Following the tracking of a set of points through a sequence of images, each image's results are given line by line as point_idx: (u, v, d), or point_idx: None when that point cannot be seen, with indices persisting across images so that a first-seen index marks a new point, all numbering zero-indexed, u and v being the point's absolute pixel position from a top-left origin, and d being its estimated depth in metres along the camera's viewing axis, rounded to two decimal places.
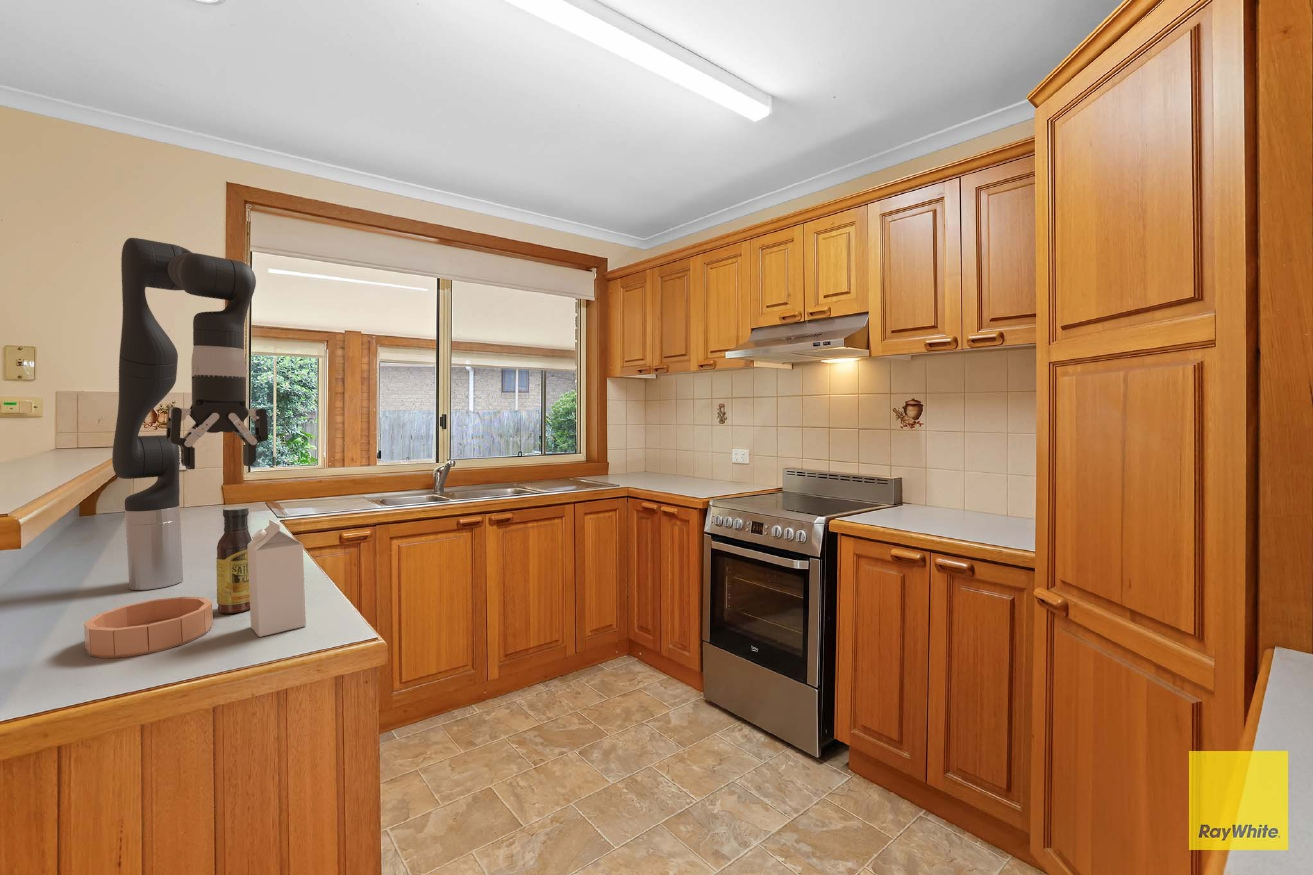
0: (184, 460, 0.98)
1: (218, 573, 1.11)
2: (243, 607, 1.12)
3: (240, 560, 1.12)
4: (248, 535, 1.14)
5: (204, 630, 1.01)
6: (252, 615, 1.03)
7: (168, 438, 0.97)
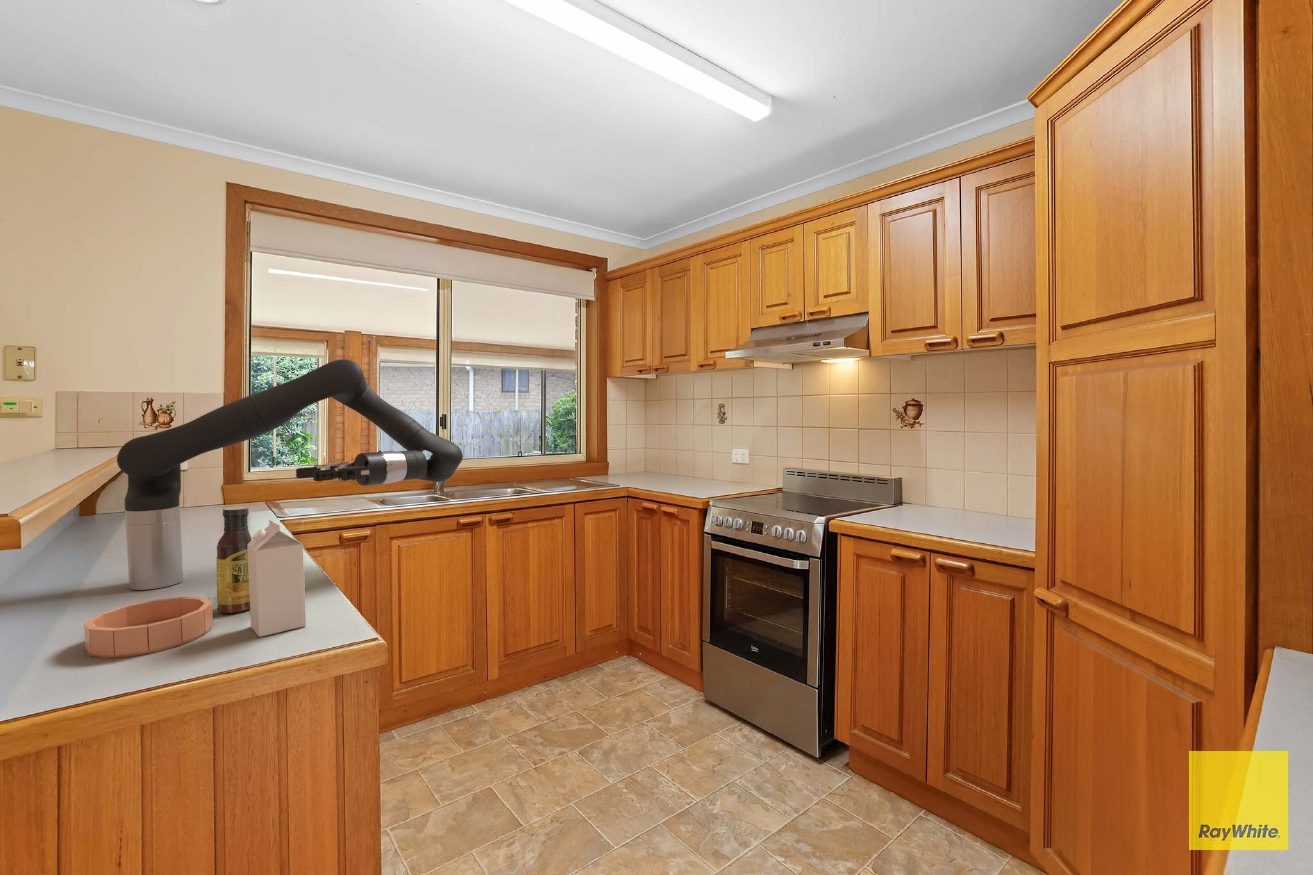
0: (324, 478, 1.21)
1: (218, 573, 1.11)
2: (243, 607, 1.12)
3: (240, 560, 1.12)
4: (248, 535, 1.14)
5: (204, 630, 1.01)
6: (252, 615, 1.03)
7: (346, 473, 1.23)
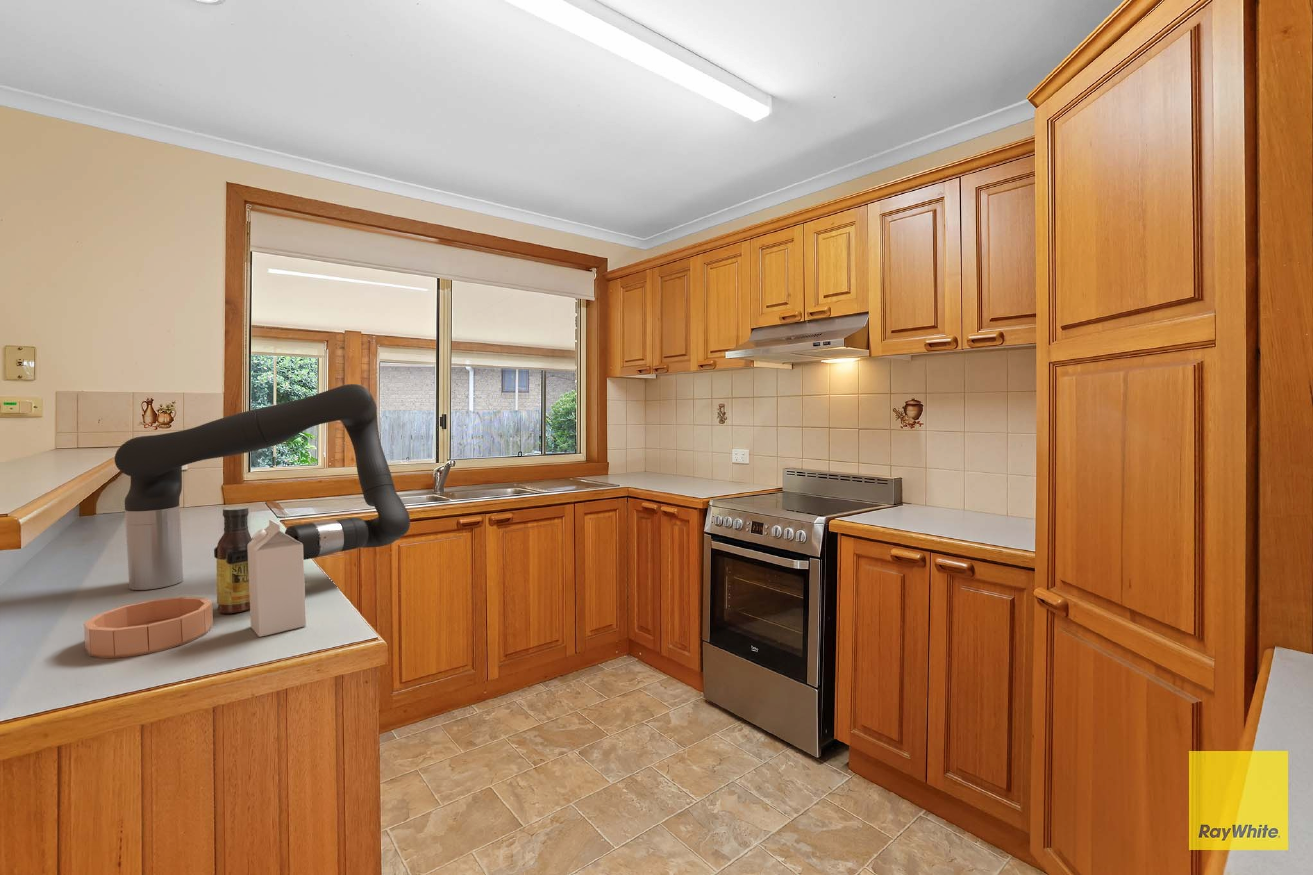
0: (238, 560, 1.10)
1: (218, 573, 1.11)
2: (243, 607, 1.12)
3: None
4: (248, 535, 1.14)
5: (204, 630, 1.01)
6: (252, 615, 1.03)
7: None
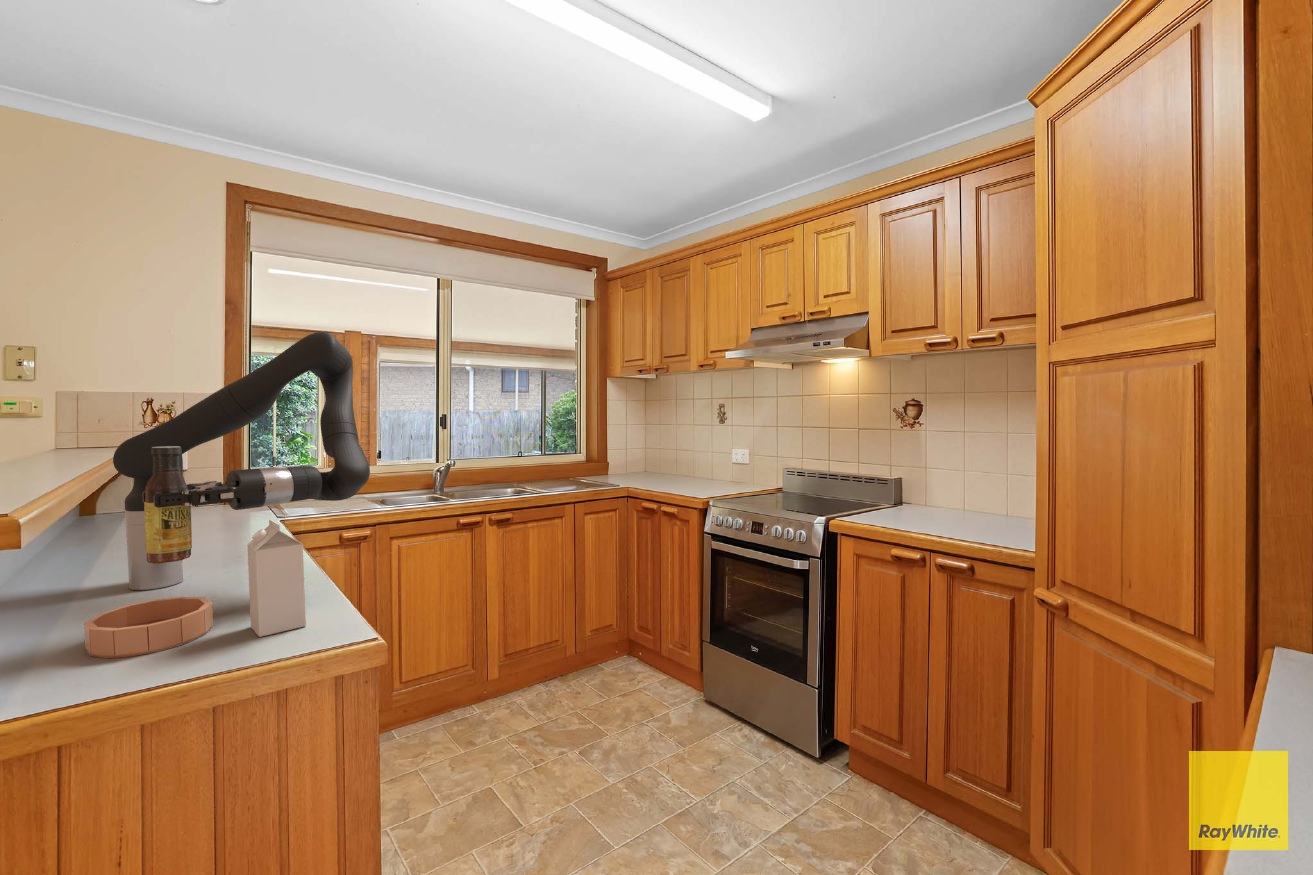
0: (167, 504, 0.99)
1: (146, 518, 0.99)
2: (175, 557, 1.01)
3: None
4: (181, 477, 1.02)
5: (204, 630, 1.01)
6: (252, 615, 1.03)
7: (197, 497, 1.00)
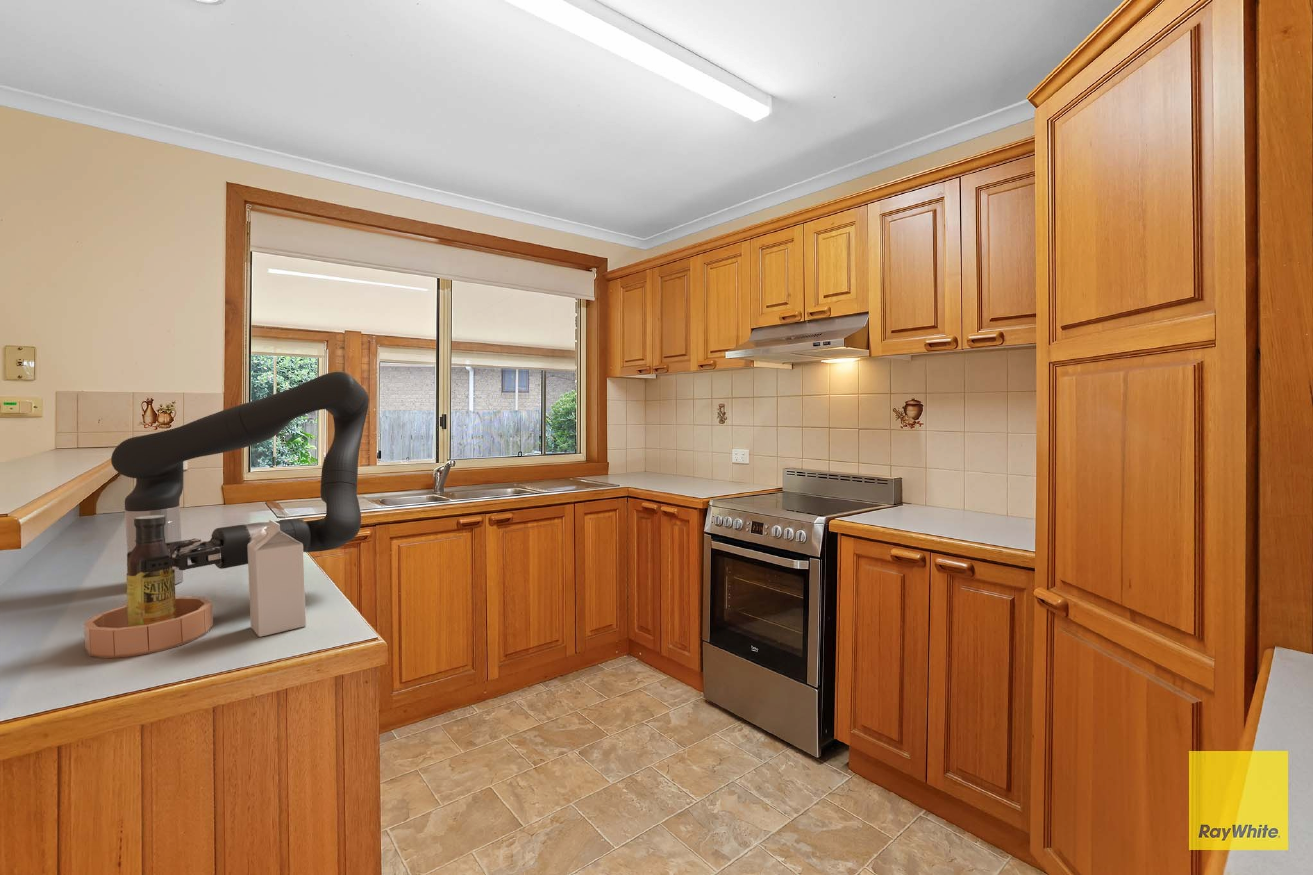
0: (154, 569, 0.96)
1: (128, 591, 0.97)
2: None
3: (153, 576, 0.98)
4: (164, 547, 1.00)
5: (204, 630, 1.01)
6: (252, 615, 1.03)
7: (185, 560, 0.98)
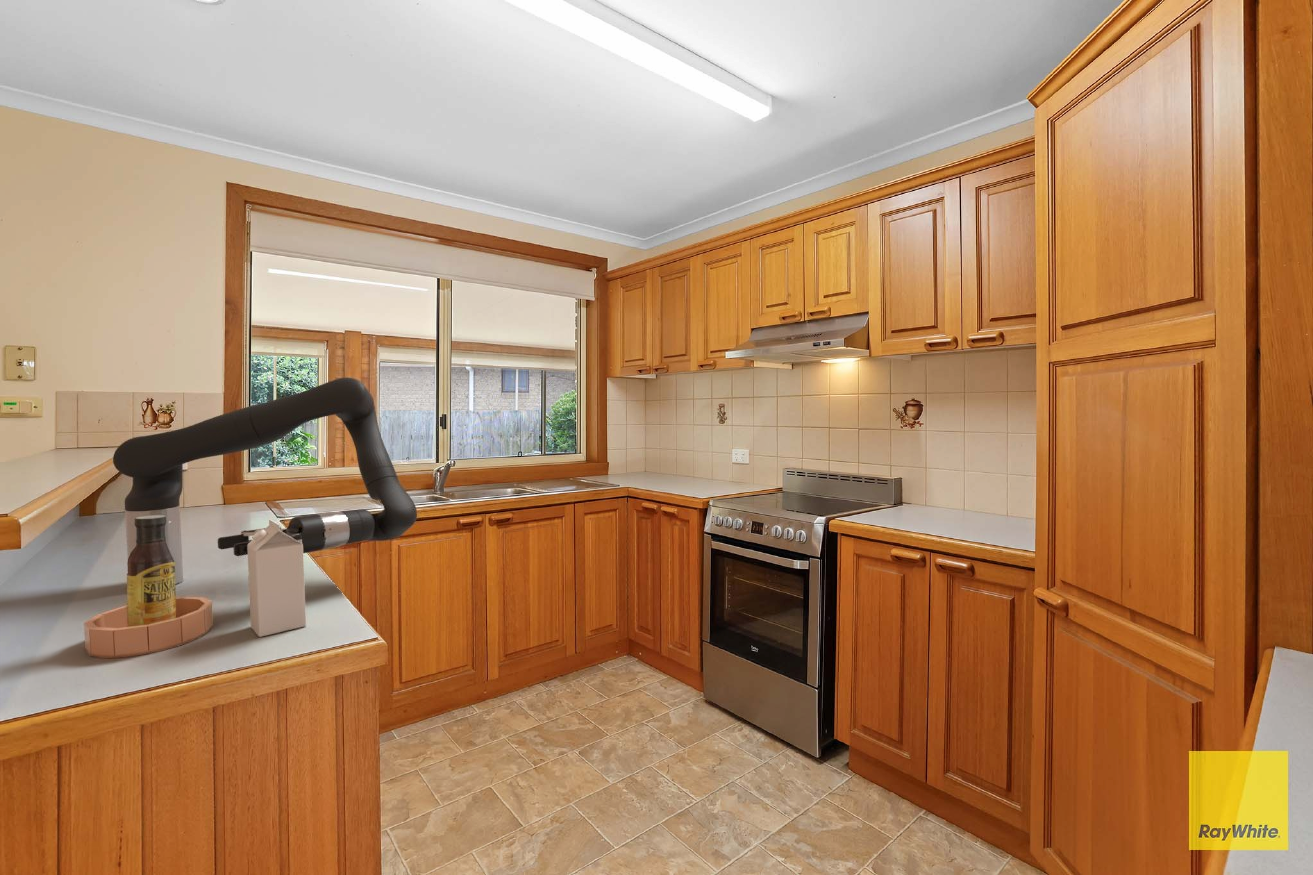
0: (246, 552, 1.06)
1: (128, 591, 0.97)
2: None
3: (153, 576, 0.98)
4: (165, 547, 1.00)
5: (204, 630, 1.01)
6: (252, 615, 1.03)
7: None
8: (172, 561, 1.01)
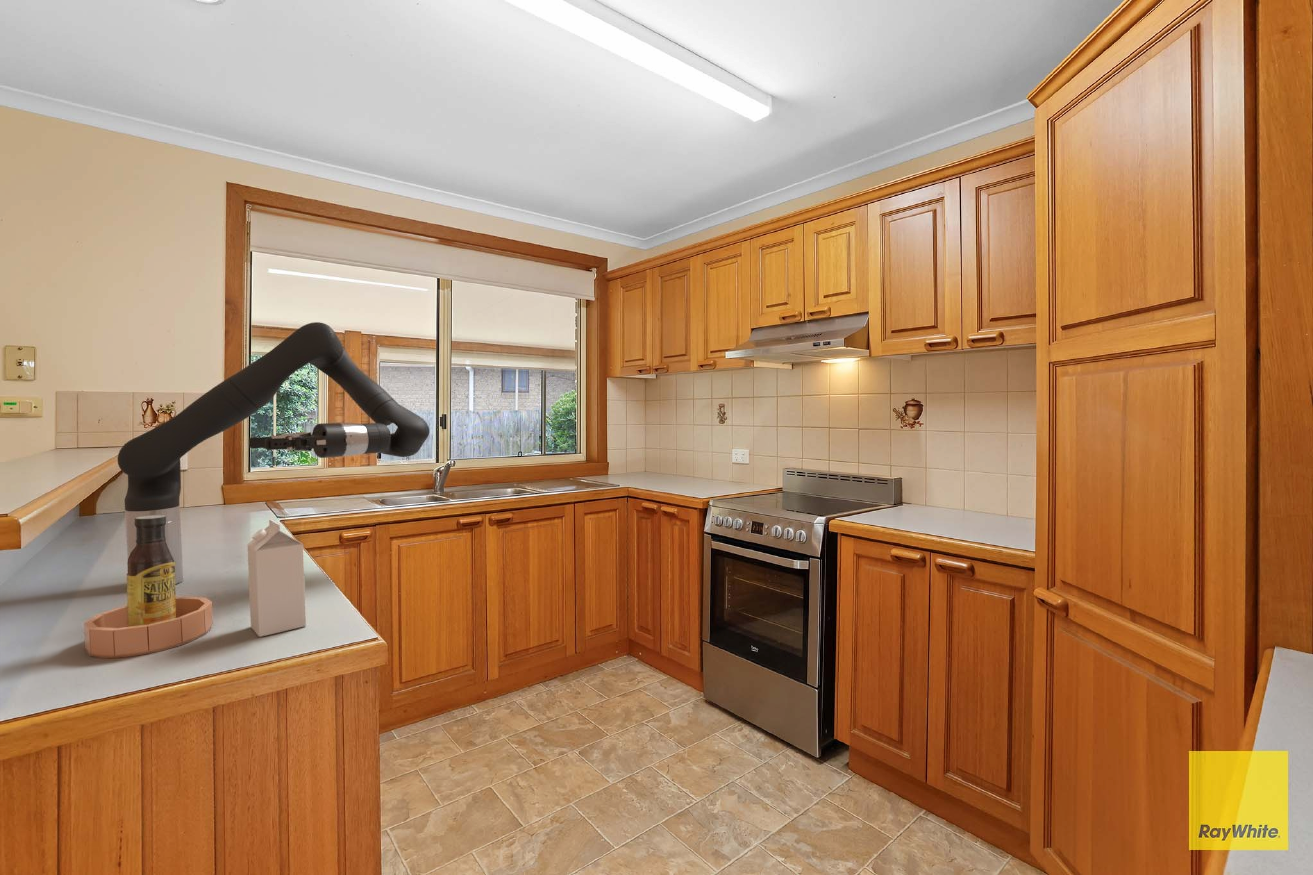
0: (276, 447, 1.16)
1: (128, 591, 0.97)
2: None
3: (153, 576, 0.98)
4: (165, 547, 1.00)
5: (204, 630, 1.01)
6: (252, 615, 1.03)
7: (300, 442, 1.18)
8: (172, 561, 1.01)
